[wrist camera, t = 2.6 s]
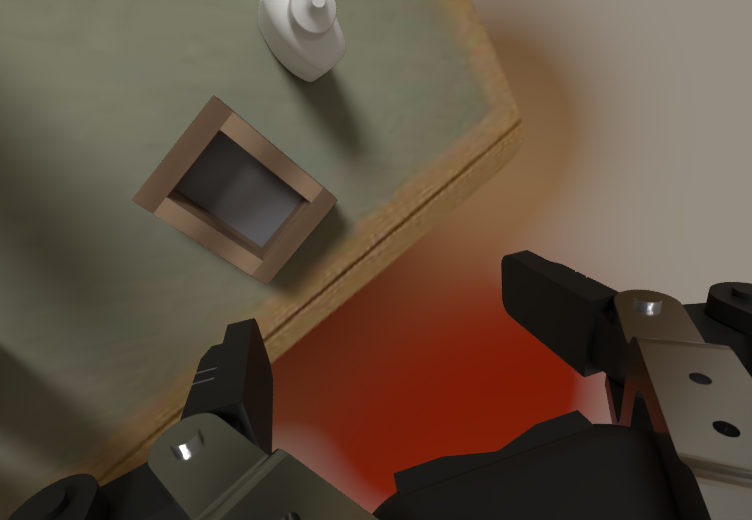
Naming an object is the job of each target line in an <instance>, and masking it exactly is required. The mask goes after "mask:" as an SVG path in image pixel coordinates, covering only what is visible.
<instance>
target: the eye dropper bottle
mask: <svg viewBox="0 0 752 520" xmlns="http://www.w3.org/2000/svg"><path fill="white" fill-rule="evenodd" d="M336 9H337V8H336V2H335V0H260V1H259V17H258V21H259V27H260V30H261V32H262V35H263V37H264V39H265V41H266V43H267V45H268V46H269V48H270V50H271V51H272V53H273V54H274V55H275V57H276V58H277V59H278V60H279V61H280V62H281V64H282V65H283V66H284V67H286V68H287V69H288V70H289V71H290V72H292V73H293V74H294V75H296V76H297V77H299V78H301V79H302V80H305V81H307V82H313V81H315V80H316V79H318V78H319V77H321V76H322V75H324V74H325V73H327V72H328V71H329V70H330V69H331V68H332V67H333V66H334V65H335V64H336V63H337V62H338V61H339V60H340V59H341V58H342V57H343V55H344V53H345V51H346V45H345V41H344V37H343V33H342V30H341V28H340V25H339V23H338V20H337V18H336V15H337V14H336V12H337V11H336Z"/></svg>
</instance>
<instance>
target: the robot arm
mask: <svg viewBox="0 0 752 520" xmlns="http://www.w3.org/2000/svg"><path fill="white" fill-rule="evenodd" d="M501 266H502V267H501V268H502V301H503V305H504V307H505V310H506V311H507V313H508V314H509V316H511V317H512V318H513V319H514V320H515V321H517V322H518V323H519V324H520V325H521V326H523V327H524V328H525V329H526V330H528V331H529V332H530V333H531V334H532V335H534V336H535V337H536V338H537V339H538V340H540V341H541V342H542V343H543V344H545V345H546V346H547V347H548V348H549V349H551V350H552V351H553V352H554V353H555V354H557V355H558V356H559V357H560V358H561V359H563V360H564V361H565V362H566V363H567V364H569V365H570V366H571V367H572V368H574V369H575V370H576V371H577V372H578V373H579V374H581V375H582V376H583V377H587V376H590V375H593V374H596V373H598V372H602V371H603V372H605V373H606V376H605V389H606V394H607V400H608V405H609V410H610V415H611V420H612V424H592V423H591V422H590V421H589V420H588V419H587V418H585V417H584V416H583V415H582V414H581V413H580V412H579V411H578V410H576V411H573V412H570V413H567V414H565V415H562V416H559V417H556V418H553V419H550V420H547V421H544V422H541V423H538V424H536V425H534V426H533V427H531V428H530V429H529V430H527V431H526V432H524V433H523V434H521V435H520V436H519V437H517V438H516V439H514V440H513V441H512V442H510V443H509V444H507V445H506V446H505V447H503V448H502V449H500V450H498V451H495V452H487V453H478V454H467V455H457V456H445V457H440V458H437V459H434V460H432V461H429V462H426V463H423V464H420V465H417V466H414V467H411V468H408V469H405V470H403V471H400V472H397V473H394V479H395V484H396V489H397V492H396V493H395V494H393V495H392V496H390V497H389V498H388V499H387V500H386V501H384V502H383V503H382V504H381V505H380V506H379V507H378V508H377V509H376V510H375V511H374V512H373V514H371V513H369V512H368V511H367V510H365V509H364V508H362V507H361V506H360V505H358V504H357V503H356V502H354V501H353V500H351V499H350V498H349V497H347V496H346V495H345V494H343V493H342V492H341V491H339V490H338V489H337V488H335V487H334V486H332V485H331V484H330V483H328V482H327V481H326V480H324V479H323V478H322V477H320V476H319V475H318V474H316V473H315V472H313V471H312V470H311V469H309V468H308V467H307V466H305V465H304V464H302V463H301V462H300V461H298V460H297V459H295V458H294V457H293V456H292V455H290V454H289V453H287V452H286V451H284V450H282V449H276V450H275V451H274V452H273V453H272V417H273V416H272V414H273V375H272V369H271V365H270V361H269V358H268V355H267V352H266V349H265V345H264V342H263V339H262V336H261V333H260V330H259V327H258V324H257V322H256V320H255V319H254V318H253V319H249V320H245V321H241V322H237V323H233V324H229V325H228V326H227V329H226V333H225V337H224V341H223V343H222V344H219V345H215V346H212V347H211V348H210V349H209V350H208V351H207V353H206V354H205V355H204V356H203V357H202V358H201V360H200V363H199V366H198V369H197V374H196V375H195V378H194V381H193V385H192V387H191V390H190V393H189V396H188V399H187V402H186V405H185V408H184V411H183V414H182V417H181V420H180V421H179V422H177V423H176V424H174V425H172V426H171V427H170V428H168V429H167V430H166V431H165V432H164V433H162V434H161V435H160V436H159V438H158V439H157V440H156V441H155V442H154V444H153V445H152V447H151V449H150V451H149V454H148V459H147V462H146V463H144V464H143V465H141V466H139V467H137V468H136V469H134V470H132V471H130V472H128V473H126V474H124V475H122V476H121V477H119V478H117V479H115V480H113V481H111V482H109V483H107V484H105V485H104V486H102V487H100V485H99V484H98V482H97V481H96V479H95V478H94V477H93V476H92V475H89V474H77V475H73V476H69V477H66V478H64V479H61V480H59V481H57V482H55V483H53V484H51V485H49V486H47V487H46V488H44V489H42V490H41V491H39V492H38V493H36V494H35V495H34V496H32V497H31V498H30V499H28V500H27V501H26V502H25V503H24V504H23V505H21V506H20V507H19V508H18V509H17V510H16V511H15V512H14V513H13V514H12V515H11V517H10V518H9V519H8V520H752V284H749V283H741V282H724V283H718V284H715V285H713V286H711V287H710V289H709V293H708V298H707V302H706V303H698V304H685V305H682V304H681V303H680V302H679V301H678V300H676V299H675V298H673V297H671V296H669V295H666V294H663V293H660V292H655V291H650V290H627V291H623V292H617V291H615V290H613V289H611V288H609V287H607V286H605V285H603V284H601V283H599V282H597V281H595V280H593V279H591V278H589V277H587V278H586V276H585V275H582V274H581V273H579V272H575V270H572V269H571V268H569V267H567V266H565V265H562V264H559V263H554V262H550V261H548V260H546V259H544V258H542V257H540V256H538V255H536V254H534V253H532V252H530V251H528V250H525V251H521V252H518V253H513V254H510V255H505V256H504V257H503V259H502V263H501Z"/></svg>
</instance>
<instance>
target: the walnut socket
mask: <svg viewBox="0 0 752 520" xmlns="http://www.w3.org/2000/svg"><path fill="white" fill-rule="evenodd" d="M132 201H134V202H135V203H137V204H138V205H140V206H141V207H143V208H145V209H146V210H148V211H149V212H151V213H153V214H154V215H156V216H157V217H159V218H161V219H162V220H164V221H165V222H167V223H168V224H170V225H172V226H173V227H175V228H176V229H178V230H180V231H181V232H183V233H184V234H186V235H188V236H189V237H191V238H192V239H194V240H195V241H197V242H199V243H200V244H202V245H203V246H205V247H207V248H208V249H210V250H211V251H213V252H215V253H216V254H218V255H219V256H221V257H223V258H224V259H226V260H227V261H229V262H230V263H232V264H234V265H235V266H237V267H238V268H240V269H242V270H243V271H245V272H246V273H248V274H250V275H251V276H253V277H254V278H256V279H257V280H259V281H261V282H262V283H264V284H265V285H268V284H269V282H270V281H271V280H272V279H273V278H274V276H275V275H276V274H277V273H278V272H279V270H280V269H281V268H282V267H283V266H284V264H285V263H286V262H287V261H288V260H289V258H290V257H291V256H292V255H293V254H294V252H295V251H296V250H297V249H298V248H299V246H300V245H301V244H302V243H303V242H304V240H305V239H306V238H307V237H308V236H309V234H310V233H311V232H312V231H313V230H314V228H315V227H316V226H317V225H318V224H319V222H320V221H321V220H322V219H323V218H324V216H325V215H326V214H327V213H328V212H329V210H330V209H331V208H332V207H333V206H334V204H335V203H336V202H337V201H338V200H337V199H336V198H335V197H334V196H333V195H332V194H331V193H330V192H329V191H328V190H326V189H325V188H324V187H323V186H322V185H321V184H319V183H318V182H317V181H316V180H315V179H313V178H312V177H311V176H310V175H309V174H307V173H306V172H305V171H304V170H303V169H302V168H300V167H299V166H298V165H297V164H296V163H294V162H293V161H292V160H291V159H290V158H289V157H287V156H286V155H285V154H284V153H283V152H281V151H280V150H279V149H278V148H277V147H275V146H274V145H273V144H272V143H271V142H270V141H268V140H267V139H266V138H265V137H264V136H262V135H261V134H260V133H259V132H258V131H257V130H255V129H254V128H253V127H252V126H251V125H249V124H248V123H247V122H246V121H245V120H244V119H242V118H241V117H240V116H239V115H238V114H236V113H235V112H234V111H233V110H232V109H230V108H229V107H228V106H227V105H226V104H225V103H223V102H222V101H221V100H220V99H219V98H217V97H215V96H214V95H213V96H212V98H211V99H210V100H209V102H208V103H207V104H206V105H205V107H204V108H203V109H202V110H201V112H200V113H199V114H198V116H197V117H196V118H195V119H194V121H193V122H192V123H191V125H190V126H189V127H188V128H187V130H186V131H185V132H184V134H183V135H182V136H181V137H180V139H179V140H178V141H177V143H176V144H175V145H174V146H173V148H172V149H171V150H170V152H169V153H168V154H167V155H166V157H165V158H164V159H163V161H162V162H161V163H160V164H159V166H158V167H157V168H156V170H155V171H154V172H153V173H152V175H151V176H150V177H149V178H148V180H147V181H146V182H145V184H144V185H143V186H142V187H141V189H140V190H139V191H138V193H137V194H136V195H135V196H134V198H133V199H132Z"/></svg>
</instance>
